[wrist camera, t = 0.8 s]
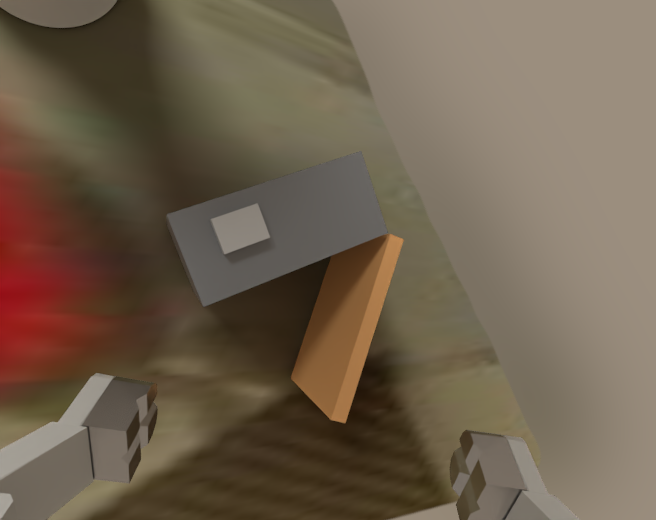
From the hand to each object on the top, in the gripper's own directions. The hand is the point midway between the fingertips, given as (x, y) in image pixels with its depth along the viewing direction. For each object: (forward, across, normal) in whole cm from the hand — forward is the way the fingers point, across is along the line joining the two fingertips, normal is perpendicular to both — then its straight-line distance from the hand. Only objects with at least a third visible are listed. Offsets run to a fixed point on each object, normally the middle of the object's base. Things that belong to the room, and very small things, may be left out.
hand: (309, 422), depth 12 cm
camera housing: (+40, +7, +14) cm, 42 cm away
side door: (+37, -2, +22) cm, 43 cm away
